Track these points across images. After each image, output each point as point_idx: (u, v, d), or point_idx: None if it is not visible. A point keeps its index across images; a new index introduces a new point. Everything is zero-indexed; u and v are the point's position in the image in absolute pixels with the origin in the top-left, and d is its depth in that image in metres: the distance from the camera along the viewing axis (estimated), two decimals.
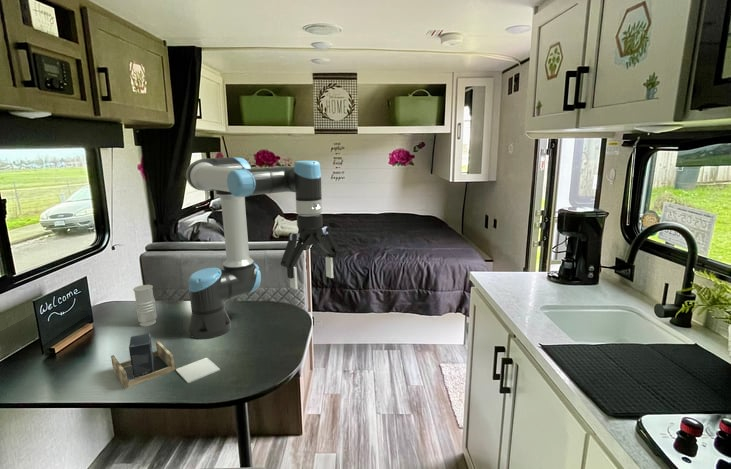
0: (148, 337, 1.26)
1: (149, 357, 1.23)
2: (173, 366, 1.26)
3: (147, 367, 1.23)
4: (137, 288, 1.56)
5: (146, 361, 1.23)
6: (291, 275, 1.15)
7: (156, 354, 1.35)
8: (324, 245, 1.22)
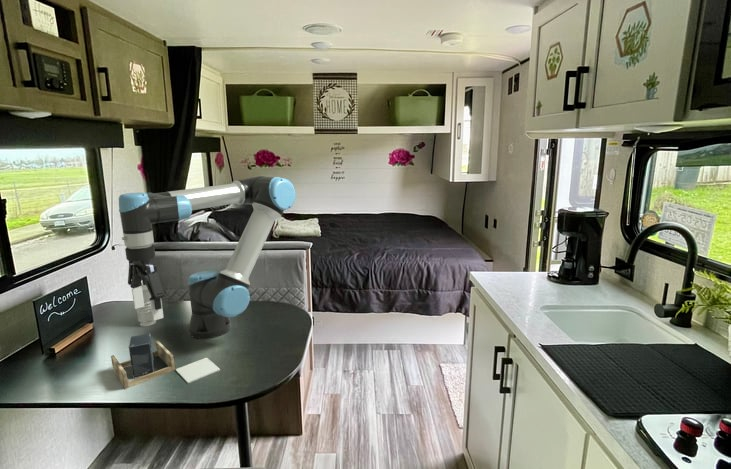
0: (148, 337, 1.26)
1: (149, 357, 1.23)
2: (173, 366, 1.26)
3: (147, 367, 1.23)
4: None
5: (146, 361, 1.23)
6: None
7: (156, 354, 1.35)
8: (145, 282, 1.16)
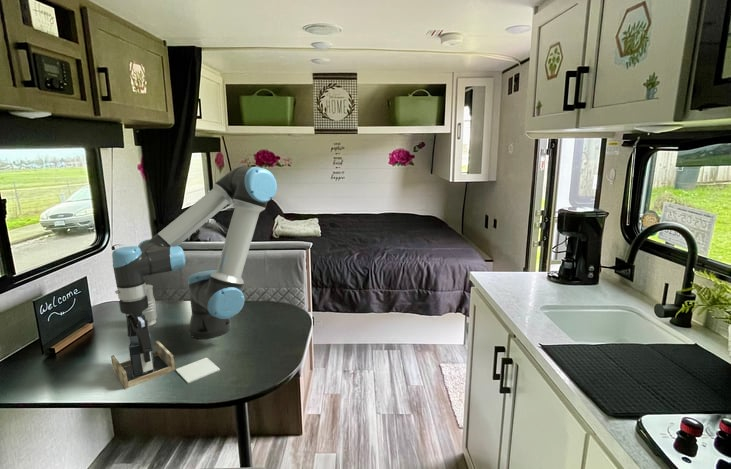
0: None
1: None
2: (173, 366, 1.26)
3: None
4: None
5: None
6: None
7: (156, 354, 1.35)
8: (136, 334, 1.20)
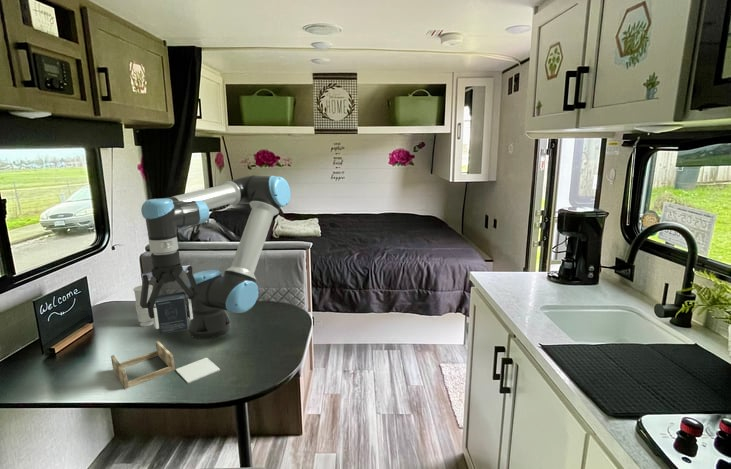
0: (168, 294, 1.23)
1: (186, 306, 1.25)
2: (173, 366, 1.26)
3: (187, 316, 1.25)
4: (137, 288, 1.56)
5: (186, 310, 1.24)
6: (151, 315, 1.17)
7: (156, 354, 1.35)
8: (182, 284, 1.21)
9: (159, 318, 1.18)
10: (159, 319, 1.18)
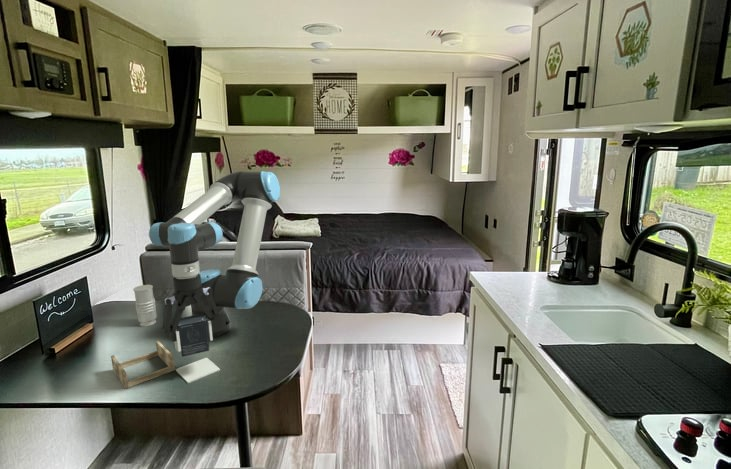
0: (189, 316, 1.24)
1: None
2: (173, 366, 1.26)
3: None
4: (137, 288, 1.56)
5: None
6: (173, 338, 1.18)
7: (156, 354, 1.35)
8: (202, 307, 1.23)
9: (181, 341, 1.19)
10: (181, 342, 1.19)
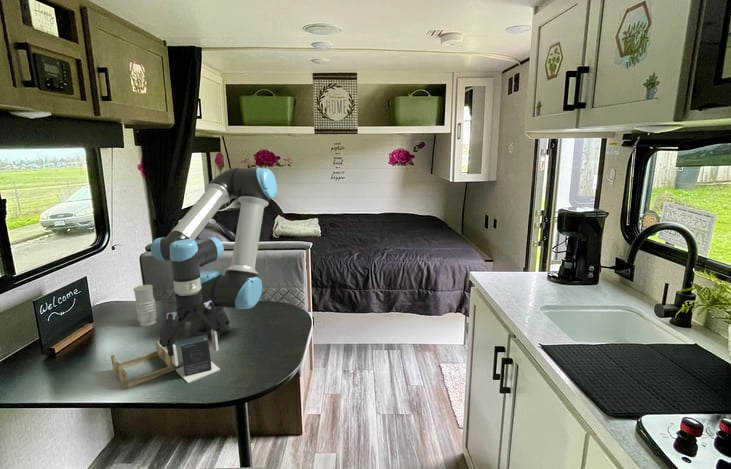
0: (191, 336, 1.26)
1: None
2: (173, 366, 1.26)
3: None
4: (137, 288, 1.56)
5: None
6: (170, 353, 1.19)
7: (156, 354, 1.35)
8: (206, 320, 1.24)
9: (184, 361, 1.21)
10: (184, 362, 1.21)
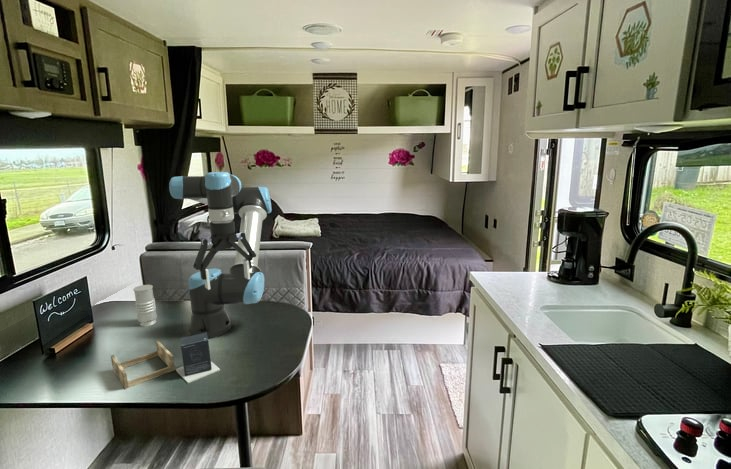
0: (191, 336, 1.26)
1: None
2: (173, 366, 1.26)
3: None
4: (137, 288, 1.56)
5: None
6: (203, 277, 1.26)
7: (156, 354, 1.35)
8: (239, 249, 1.32)
9: (184, 361, 1.21)
10: (184, 362, 1.21)
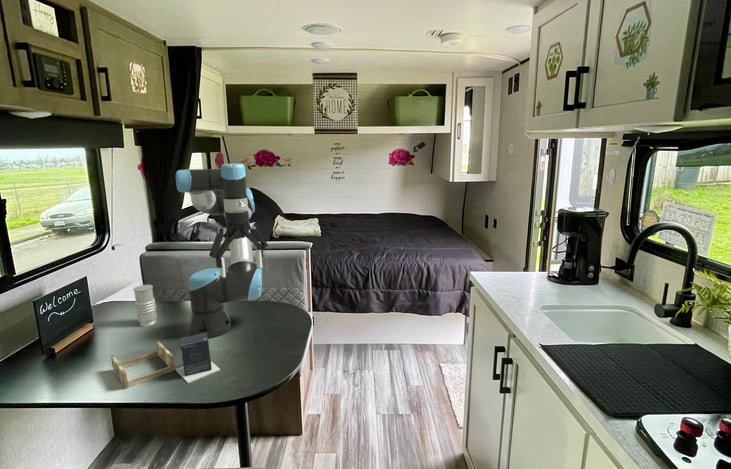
0: (191, 336, 1.26)
1: None
2: (173, 366, 1.26)
3: None
4: (137, 288, 1.56)
5: None
6: (219, 265, 1.30)
7: (156, 354, 1.35)
8: (252, 239, 1.37)
9: (184, 361, 1.21)
10: (184, 362, 1.21)
